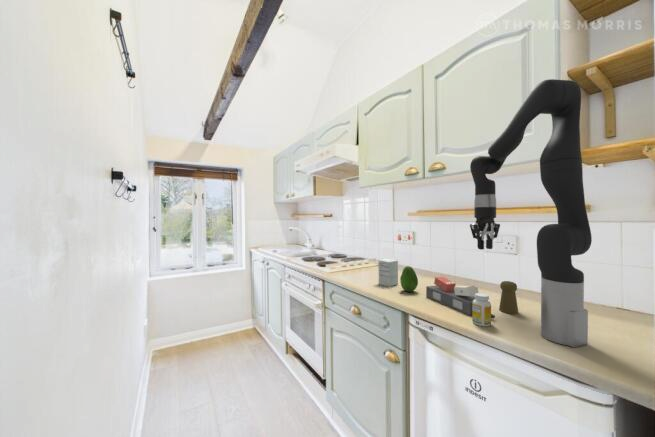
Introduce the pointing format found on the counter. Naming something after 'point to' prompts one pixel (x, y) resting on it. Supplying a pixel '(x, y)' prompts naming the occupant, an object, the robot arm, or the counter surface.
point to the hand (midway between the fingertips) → (485, 248)
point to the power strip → (451, 299)
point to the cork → (508, 298)
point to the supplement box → (388, 272)
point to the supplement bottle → (481, 310)
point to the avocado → (409, 279)
